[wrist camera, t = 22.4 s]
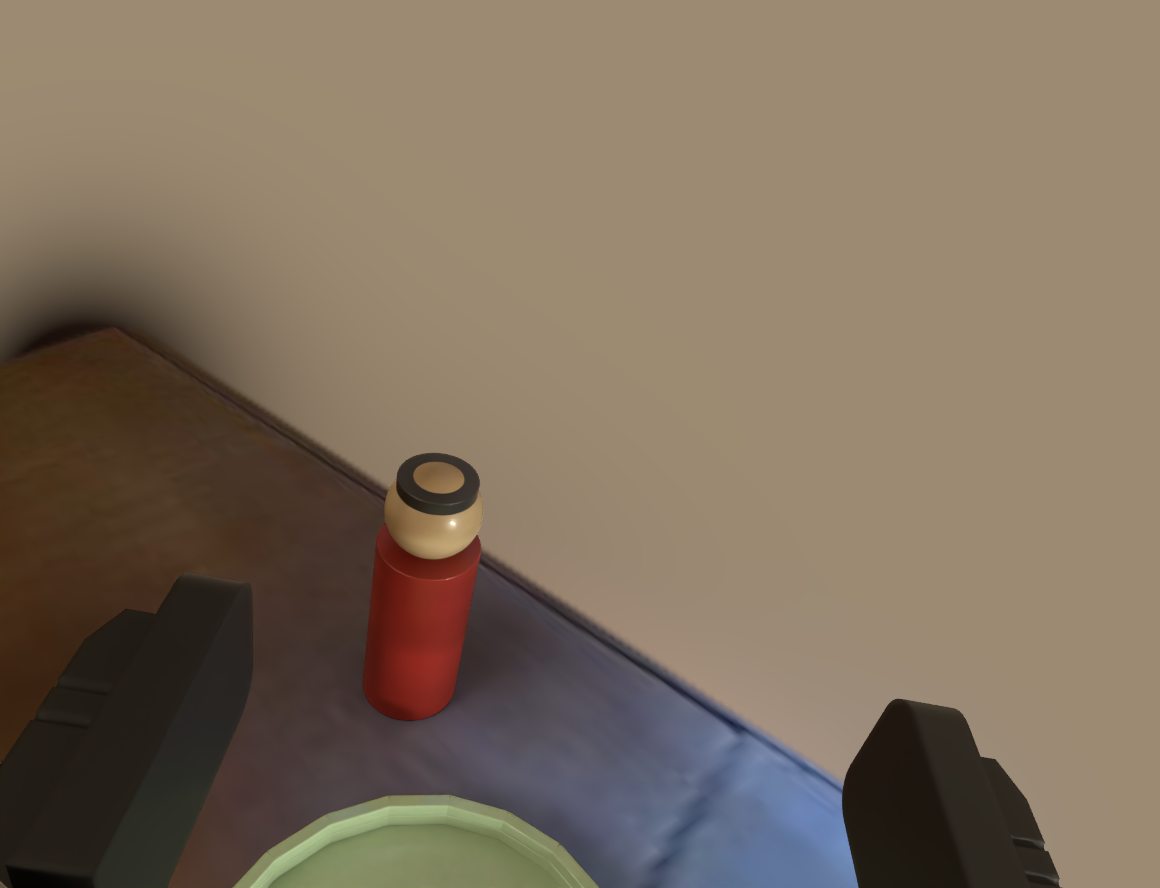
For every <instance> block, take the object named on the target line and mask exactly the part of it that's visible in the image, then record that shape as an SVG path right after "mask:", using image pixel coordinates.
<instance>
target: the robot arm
mask: <svg viewBox="0 0 1160 888" xmlns="http://www.w3.org/2000/svg"><path fill="white" fill-rule="evenodd" d="M252 673H253V610H252V588H251V585H250V584H249V583H246V582H240V581H234V580H229V579H223V578H217V577H211V576H206V575H200V574H194V573H188V572H186V573H183V574H182V575H181V576H180V577H179V578H178V579H177V580H176V582H175V583H174V585H173V586H172V588H171V590H170V591H169V593H168V595H167V596H166V598H165V600H164V601H163V603H162V605H161V606H160V608H159V610H158V611H157V613H156V614H153V613H148V612H142V611H136V610H130V609H125V610H124V611H122V612H121V613H120V614H118V615H117V616H116V617H114V618H113V619H112V620H110V621H109V622H108V623H106V624H105V625H104V626H102V627H101V628H100V629H98V630H97V631H96V632H94V633H93V634H92V635H90V636H89V637H88V638H86V639H85V640H84V642H83V643H82V645H81V646H80V648H79V649H78V651H77V652H76V653H75V655H74V656H73V658H72V659H71V661H70V662H69V664H68V665H67V667H66V668H65V670H64V671H63V673H62V674H61V676H60V677H59V679H58V684H57V686H56V687H53V688H52V689H51V691H50V692H49V694H48V695H47V697H46V698H45V700H44V701H43V703H42V704H41V706H40V707H39V709H38V710H37V711H36V717H35V719H34V720H30V722H29V723H28V725H27V726H26V728H25V729H24V731H23V732H22V734H21V735H20V737H19V738H18V740H17V741H16V743H15V744H14V746H13V747H12V749H11V750H10V752H9V753H8V755H7V756H6V758H5V759H4V761H3V762H2V764H1V765H0V888H167V886H168V883H169V881H170V879H171V877H172V874H173V872H174V870H175V867H176V865H177V863H178V861H179V858H180V856H181V854H182V851H183V849H184V847H185V844H186V842H187V840H188V838H189V835H190V833H191V831H192V828H193V826H194V824H195V822H196V819H197V817H198V815H199V812H200V810H201V808H202V806H203V803H204V801H205V799H206V796H207V794H208V792H209V789H210V787H211V785H212V783H213V780H214V778H215V776H216V773H217V771H218V769H219V767H220V764H221V762H222V760H223V757H224V755H225V753H226V751H227V748H228V746H229V744H230V741H231V739H232V737H233V735H234V732H235V730H236V728H237V725H238V723H239V721H240V718H241V716H242V713H243V710H244V708H245V704H246V701H247V698H248V694H249V690H250V685H251V680H252ZM842 810H843V818H844V823H845V828H846V832H847V837H848V841H849V846H850V850H851V855H852V859H853V864H854V868H855V873H856V877H857V882H858V886H859V888H1060V887H1059V883H1058V881H1059V876H1058V874H1057V871H1056V869H1055V867H1054V864H1053V862H1052V859H1051V857H1050V855H1049V852H1048V851H1045V850H1044V843H1045V842H1044V840H1043V838H1042V835H1041V833H1040V830H1039V828H1038V825H1037V823H1036V821H1035V818H1034V816H1033V813H1032V811H1031V809H1030V806H1029V804H1028V802H1027V799H1026V798H1025V797H1024V795H1023V794H1022V793H1021V792H1020V790H1019V789H1018V788H1017V786H1016V785H1015V784H1014V783H1013V781H1012V780H1011V779H1010V778H1009V776H1008V775H1007V774H1006V772H1005V771H1004V770H1003V768H1002V767H1001V766H1000V765H999V763H998V762H997V761H996V760H995V759H990V758H984V757H980V754H979V752H978V749H977V747H976V744H975V741H974V739H973V736H972V733H971V731H970V728H969V725H968V723H967V721H966V719H965V718H964V716H963V714H962V713H961V712H960V711H958V710H957V709H954V708H949V707H944V706H938V705H931V704H926V703H921V702H915V701H909V700H903V699H895V700H893V701H891V702H890V703H889V704H888V706H887V707H886V709H885V710H884V712H883V713H882V715H881V717H880V718H879V720H878V722H877V723H876V725H875V727H874V728H873V730H872V731H871V733H870V734H869V736H868V738H867V739H866V741H865V742H864V744H863V746H862V747H861V749H860V751H859V752H858V754H857V755H856V757H855V759H854V760H853V762H852V763H851V765H850V767H849V769H848V771H847V774H846V777H845V781H844V786H843V794H842Z"/></svg>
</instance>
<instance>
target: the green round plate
mask: <svg viewBox="0 0 1160 888" xmlns="http://www.w3.org/2000/svg"><path fill="white" fill-rule="evenodd" d="M233 888H599V887H598V885H597V884H596V883H595V882H594V881H593V880H592V879H591V878H590V876H589V875H588V874H587V873H586V872H585V871H584V870H583V869H582V867H581V866H580V865H579V864H578V863H577V862H576V861H575V860H574V858H573V857H572V856H571V855H570V854H569V853H568V852H567V851H566V849H565V848H564V847H563V846H562V845H561V844H560V843H558V842H557V841H555V840H554V839H552V838H550V837H549V836H547V835H546V834H544V833H543V832H541V831H539V830H538V829H536V828H535V827H533V826H531V825H530V824H528V823H527V822H525V821H523V820H522V819H520V818H519V817H517V816H515V815H514V814H512V813H511V812H508V811H507V810H503V809H499V808H496V807H492V806H489V805H485V804H482V803H478V802H474V801H471V800H467V799H464V798H460V797H456V796H453V795H450V796H449V795H389V796H384V797H381V798H378V799H374V800H371V801H368V802H364V803H361V804H358V805H354V806H351V807H348V808H344V809H341V810H338V811H334V812H331V813H328V814H326V815H323V816H322V817H320V818H319V819H317V820H315V821H314V822H312V823H311V824H309V825H308V826H306V827H304V828H303V829H301V830H300V831H298V832H296V833H295V834H293V835H292V836H290V837H288V838H287V839H285V840H284V841H282V842H280V843H279V844H277V845H276V846H274V847H273V848H271V849H269V850H268V851H267V852H266V853H264V854H263V856H262V857H261V858H260V859H259V860H258V861H257V862H256V863H255V864H254V865H253V866H252V867H251V869H250V870H249V871H248V872H247V873H246V874H245V875H244V876H243V877H242V878H241V879H240V881H239V882H238V883H237V884H236V885H235V886H234V887H233Z"/></svg>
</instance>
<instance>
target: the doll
mask: <svg viewBox="0 0 1160 888" xmlns="http://www.w3.org/2000/svg"><path fill="white" fill-rule="evenodd" d="M479 486H480V480H479V476H478V474H477V472H476V471H475V469H473V467H472V466H471V465H470V464H468V463H467V462H465V461H463V460H462V459H460V458H457V457H455V456H451V455H447V454H442V453H426V454H420V455H416V456H414V457H412V458H409V459H408V460H406V461H405V462H404V463H403V464H402V465H401V467H400V468H399V470H398V472H397V479H396V480H395V481H394V482H393V484H392V485H391V487H390V489H389V491H388V493H387V496H386V500H385V506H384V516H385V522H386V523H385V524H384V525H383V526H382V527H381V529H380V531H379V532H378V535H377V540H376V550H375V560H374V571H373V581H372V591H371V601H370V612H369V622H368V632H367V642H366V653H365V663H364V673H363V690H364V693H365V696H366V698H367V699H368V701H369V702H370V704H371V705H372V706H373V707H374V708H375V709H376V710H378V711H379V712H381V713H382V714H384V715H386V716H388V717H391V718H394V719H399V720H408V721H411V720H420V719H424V718H428V717H430V716H432V715H434V714H436V713H438V712H439V711H441V710H442V709H443V708H444V707H445V706H446V705H447V704H448V703H449V701H450V700H451V698H452V696H453V694H454V690H455V685H456V680H457V675H458V669H459V664H460V659H461V654H462V648H463V643H464V638H465V633H466V627H467V622H468V617H469V611H470V606H471V601H472V596H473V590H474V585H475V580H476V575H477V569H478V564H479V559H480V554H481V543H480V540H479V538H478V535H477V533H478V531H479V529H480V526H481V523H482V519H483V500H482V496H481V493H480V491H479Z"/></svg>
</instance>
